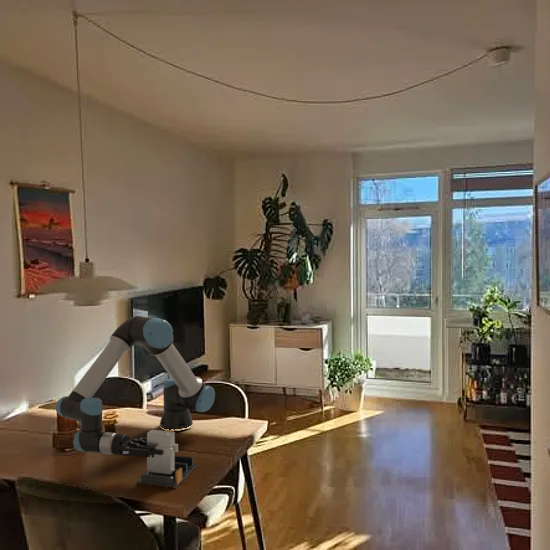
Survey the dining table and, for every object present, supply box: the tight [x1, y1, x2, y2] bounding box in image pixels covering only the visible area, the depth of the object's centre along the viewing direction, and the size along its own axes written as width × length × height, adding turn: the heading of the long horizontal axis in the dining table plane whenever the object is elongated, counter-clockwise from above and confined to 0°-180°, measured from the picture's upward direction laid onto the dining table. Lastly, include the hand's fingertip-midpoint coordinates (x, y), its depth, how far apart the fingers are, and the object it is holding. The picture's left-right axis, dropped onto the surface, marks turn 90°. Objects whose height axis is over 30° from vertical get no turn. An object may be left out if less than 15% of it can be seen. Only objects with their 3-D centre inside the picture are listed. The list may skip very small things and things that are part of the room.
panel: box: [146, 429, 176, 474], centre depth 187 cm, size 4×9×14 cm, turn 77°
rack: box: [136, 454, 198, 488], centre depth 193 cm, size 19×15×5 cm
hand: (175, 450), depth 186 cm, fingers closed on panel, 3 cm apart
